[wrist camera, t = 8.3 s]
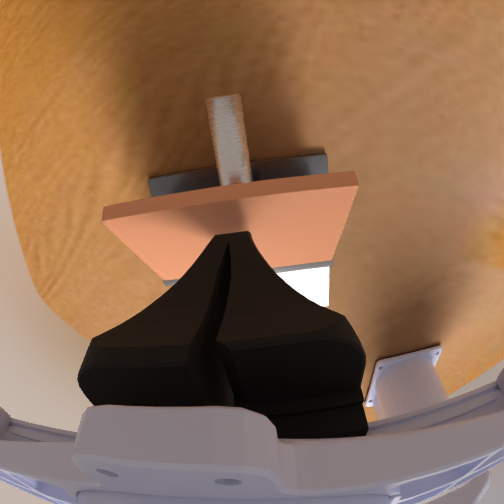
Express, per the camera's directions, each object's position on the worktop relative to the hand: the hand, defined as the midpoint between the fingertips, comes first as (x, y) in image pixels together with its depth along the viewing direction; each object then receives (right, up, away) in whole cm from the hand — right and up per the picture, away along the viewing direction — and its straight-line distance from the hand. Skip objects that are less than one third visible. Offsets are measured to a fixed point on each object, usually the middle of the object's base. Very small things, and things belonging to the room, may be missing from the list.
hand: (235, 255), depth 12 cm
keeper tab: (0, +1, +2) cm, 2 cm away
